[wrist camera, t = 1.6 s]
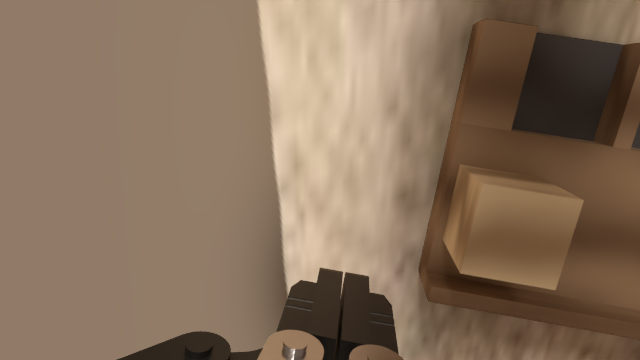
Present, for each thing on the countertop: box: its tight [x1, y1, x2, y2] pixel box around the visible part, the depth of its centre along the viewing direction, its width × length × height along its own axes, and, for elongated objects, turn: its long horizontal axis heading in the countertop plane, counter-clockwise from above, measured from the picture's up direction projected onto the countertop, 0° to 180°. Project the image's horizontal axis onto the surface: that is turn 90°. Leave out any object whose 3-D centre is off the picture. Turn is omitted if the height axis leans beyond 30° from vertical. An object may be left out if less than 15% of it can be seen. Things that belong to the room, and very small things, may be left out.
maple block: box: [442, 164, 584, 290], centre depth 24 cm, size 5×5×5 cm
